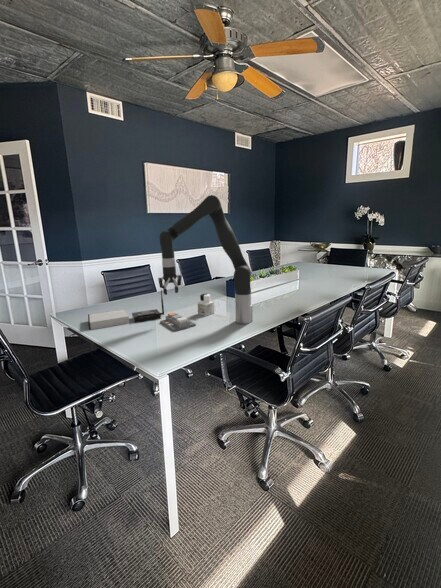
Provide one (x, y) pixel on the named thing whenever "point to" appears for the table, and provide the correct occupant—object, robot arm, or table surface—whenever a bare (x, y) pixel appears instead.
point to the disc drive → (108, 319)
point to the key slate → (176, 317)
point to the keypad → (176, 324)
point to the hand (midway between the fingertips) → (171, 293)
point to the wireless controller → (148, 314)
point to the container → (205, 305)
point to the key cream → (181, 320)
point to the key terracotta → (172, 314)
